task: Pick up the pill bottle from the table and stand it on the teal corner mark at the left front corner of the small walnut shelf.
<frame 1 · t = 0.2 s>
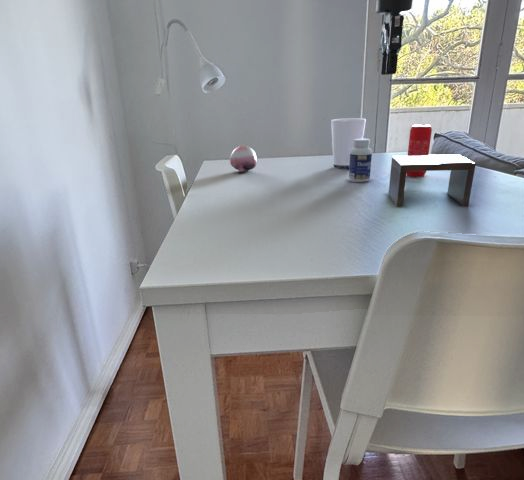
hand: (388, 74, 107), 23 cm above the table, tool pointing down, fingers open, 8 cm apart
shelf: (426, 199, 100), on the table
pill bottle: (359, 181, 121), on the table
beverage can: (415, 176, 124), on the table
cup: (345, 167, 140), on the table
onion: (244, 172, 138), on the table
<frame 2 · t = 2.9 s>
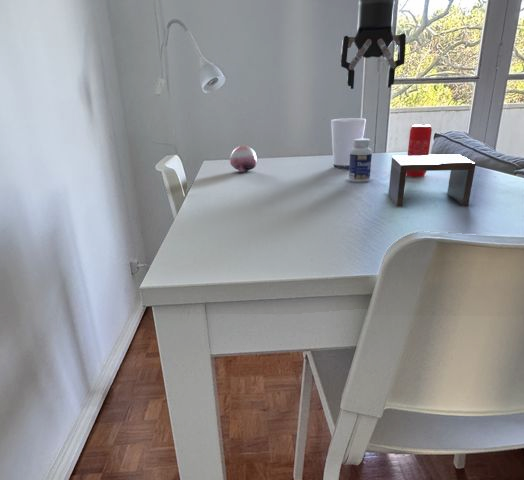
hand: (370, 88, 110), 21 cm above the table, tool pointing down, fingers open, 8 cm apart
nothing on the table moved.
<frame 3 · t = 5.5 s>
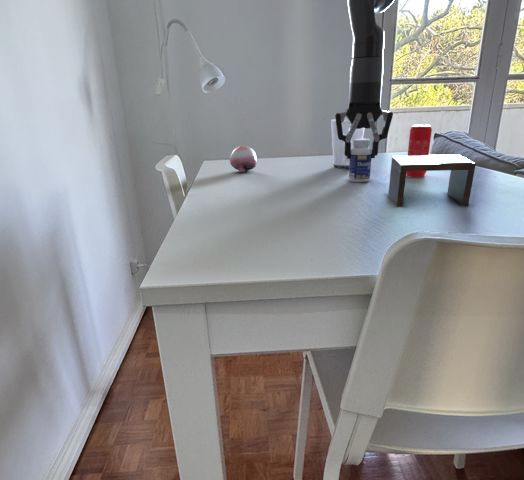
hand: (360, 157, 118), 5 cm above the table, tool pointing down, fingers closed on pill bottle, 5 cm apart
pill bottle: (359, 181, 121), on the table, touching gripper
everything else where it was.
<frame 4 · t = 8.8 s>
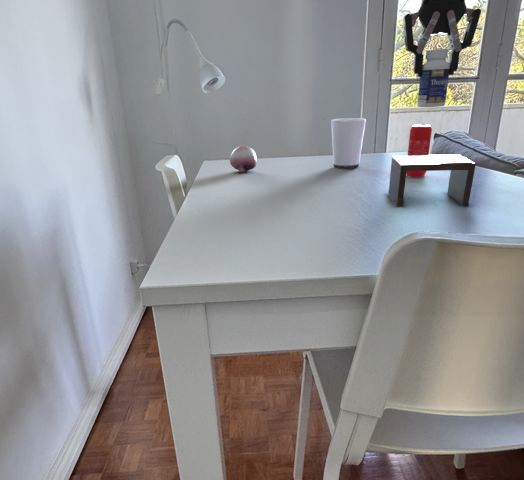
hand: (434, 75, 92), 23 cm above the table, tool pointing down, fingers closed on pill bottle, 5 cm apart
pill bottle: (430, 107, 95), point 17 cm above the table, touching gripper
everything else where it was.
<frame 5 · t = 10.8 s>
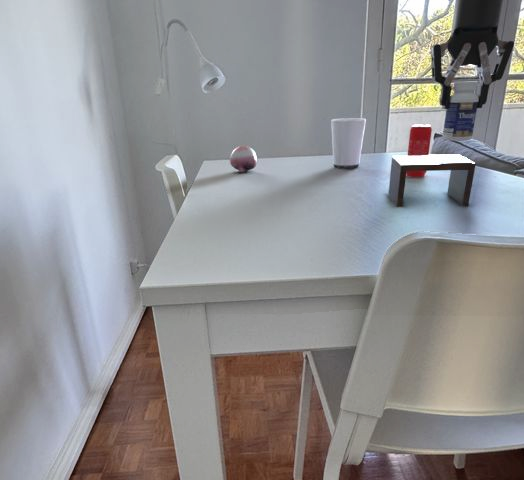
hand: (461, 108, 88), 17 cm above the table, tool pointing down, fingers closed on pill bottle, 5 cm apart
pill bottle: (456, 140, 91), point 12 cm above the table, touching gripper
everything else where it was.
when the fingers open (14 cm above the table, at t = 12.3 s): pill bottle stays where it is, resting on shelf.
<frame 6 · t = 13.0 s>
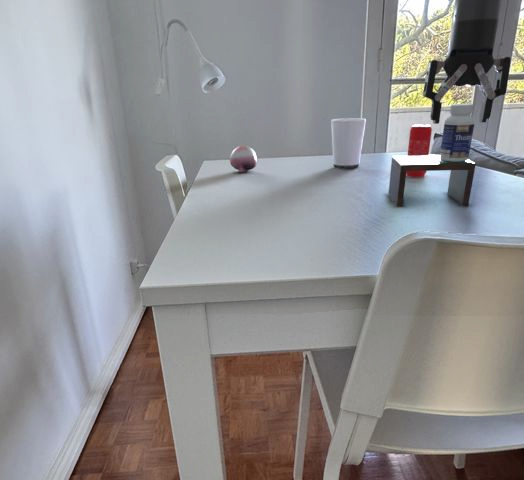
hand: (459, 122, 89), 15 cm above the table, tool pointing down, fingers open, 8 cm apart
pill bottle: (453, 161, 93), point 8 cm above the table, touching shelf
everything else where it was.
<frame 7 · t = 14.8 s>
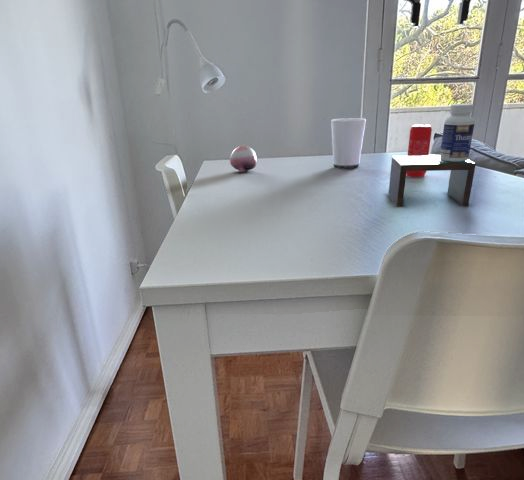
hand: (437, 26, 92), 31 cm above the table, tool pointing down, fingers open, 8 cm apart
nothing on the table moved.
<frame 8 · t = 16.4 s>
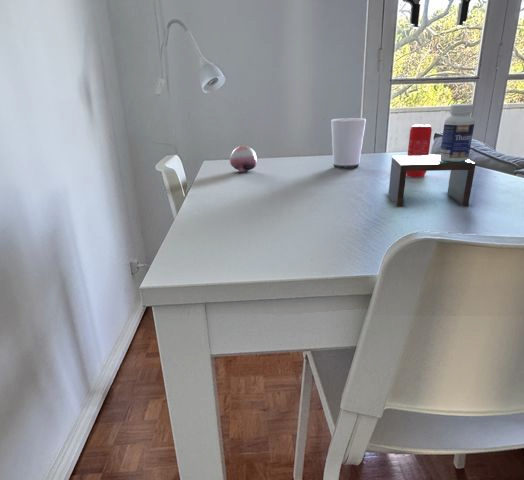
hand: (437, 27, 93), 31 cm above the table, tool pointing down, fingers open, 8 cm apart
nothing on the table moved.
at the end: pill bottle 0.1 cm from the target spot on the shelf, point 8.0 cm above the shelf's base; pill bottle tilted 0°; the gripper is holding nothing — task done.
